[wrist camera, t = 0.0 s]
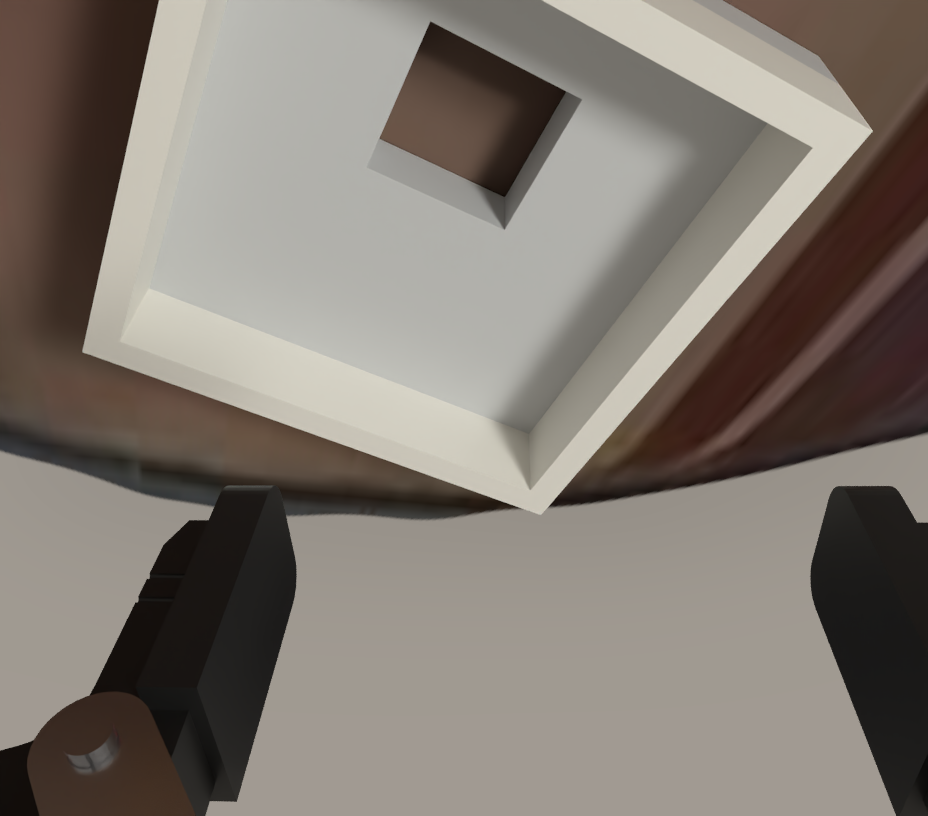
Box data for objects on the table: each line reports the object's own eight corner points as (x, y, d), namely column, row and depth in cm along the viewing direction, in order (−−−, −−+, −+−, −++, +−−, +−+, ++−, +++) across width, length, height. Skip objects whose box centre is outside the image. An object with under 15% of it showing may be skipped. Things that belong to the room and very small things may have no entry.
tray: (267, -265, 24) (212, -243, 19) (818, 55, 29) (873, 130, 25) (134, 265, 36) (82, 351, 32) (537, 422, 42) (540, 515, 37)
